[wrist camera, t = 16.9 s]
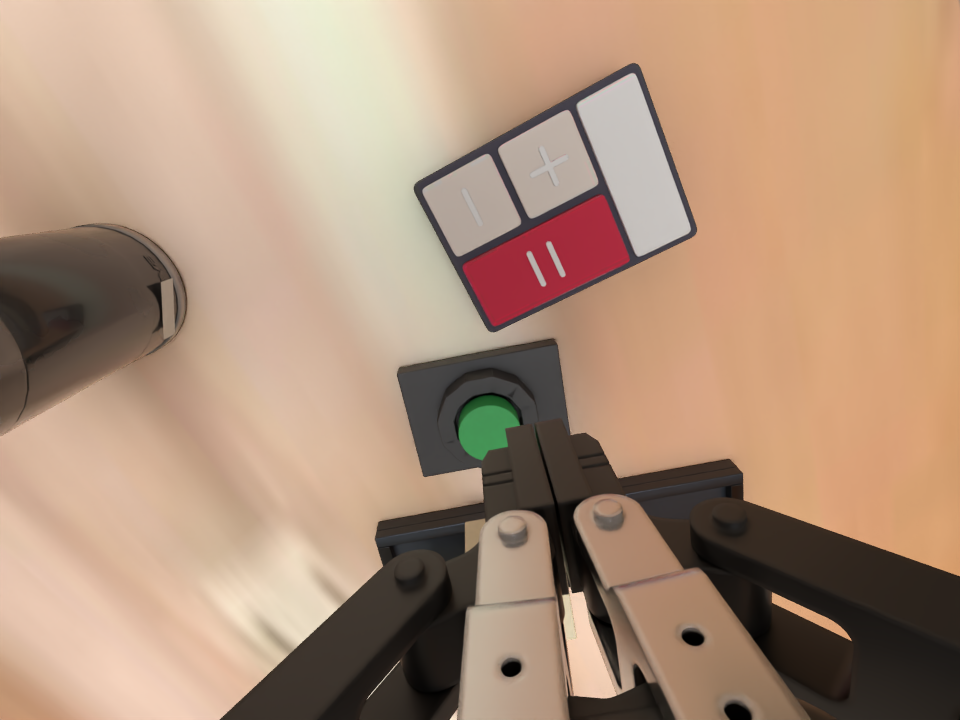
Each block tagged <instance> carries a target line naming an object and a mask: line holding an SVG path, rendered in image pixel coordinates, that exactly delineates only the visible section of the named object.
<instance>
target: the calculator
mask: <svg viewBox="0 0 960 720" xmlns="http://www.w3.org/2000/svg"><path fill="white" fill-rule="evenodd" d="M414 192H415V194H416V196H417V198H418V200H419V202H420V204H421V205H422V207H423V209H424V211H425V213H426V215H427V217H428V219H429V221H430V222H431V224H432V226H433V228H434V230H435V232H436V234H437V236H438V238H439V239H440V241H441V243H442V245H443V247H444V249H445V251H446V253H447V255H448V256H449V258H450V260H451V262H452V264H453V266H454V268H455V270H456V271H457V273H458V275H459V277H460V279H461V281H462V283H463V285H464V287H465V288H466V290H467V292H468V294H469V296H470V298H471V300H472V302H473V304H474V305H475V307H476V309H477V311H478V313H479V315H480V317H481V319H482V321H483V322H484V324H485V326H486V328H487V329H488V331H490V332H496V331H499V330H501V329H503V328H505V327H507V326H509V325H511V324H513V323H515V322H517V321H519V320H521V319H523V318H526V317H528V316H530V315H532V314H534V313H536V312H538V311H540V310H542V309H544V308H546V307H548V306H551V305H553V304H555V303H557V302H559V301H561V300H563V299H565V298H567V297H569V296H571V295H573V294H575V293H578V292H580V291H582V290H584V289H586V288H588V287H590V286H592V285H594V284H596V283H598V282H600V281H602V280H605V279H607V278H609V277H611V276H613V275H615V274H617V273H619V272H621V271H623V270H625V269H627V268H629V267H632V266H634V265H636V264H638V263H640V262H642V261H644V260H646V259H648V258H650V257H652V256H654V255H656V254H659V253H661V252H663V251H665V250H667V249H669V248H671V247H673V246H675V245H677V244H679V243H681V242H683V241H686V240H688V239H690V238H692V237H693V236H694V235H695V234H696V232H697V227H696V224H695V221H694V218H693V215H692V212H691V209H690V207H689V204H688V201H687V198H686V195H685V192H684V190H683V187H682V184H681V181H680V178H679V175H678V173H677V170H676V167H675V164H674V161H673V158H672V156H671V153H670V150H669V147H668V144H667V142H666V139H665V136H664V133H663V130H662V127H661V125H660V122H659V119H658V116H657V113H656V110H655V108H654V105H653V102H652V99H651V96H650V93H649V91H648V88H647V85H646V82H645V79H644V77H643V74H642V71H641V68H640V67H639V65H638V64H636V63H632V64H629V65H627V66H625V67H624V68H622V69H620V70H618V71H616V72H615V73H613V74H611V75H609V76H607V77H606V78H604V79H602V80H600V81H598V82H597V83H595V84H593V85H591V86H589V87H588V88H586V89H584V90H582V91H580V92H579V93H577V94H575V95H573V96H571V97H569V98H568V99H566V100H564V101H562V102H560V103H559V104H557V105H555V106H553V107H551V108H550V109H548V110H546V111H544V112H542V113H541V114H539V115H537V116H535V117H533V118H532V119H530V120H528V121H526V122H524V123H523V124H521V125H519V126H517V127H515V128H514V129H512V130H510V131H508V132H506V133H505V134H503V135H501V136H499V137H497V138H496V139H494V140H492V141H490V142H488V143H487V144H485V145H483V146H481V147H479V148H478V149H476V150H474V151H472V152H470V153H469V154H467V155H465V156H463V157H461V158H460V159H458V160H456V161H454V162H452V163H451V164H449V165H447V166H445V167H443V168H442V169H440V170H438V171H436V172H434V173H433V174H431V175H429V176H427V177H425V178H423V179H422V180H420V181H418V182H417V183H416V184H415V186H414Z"/></svg>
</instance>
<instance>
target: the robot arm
mask: <svg viewBox="0 0 960 720" xmlns="http://www.w3.org/2000/svg"><path fill="white" fill-rule="evenodd" d="M185 310H186V298H185V291H184V287H183V284H182V281H181V278H180V276H179V274H178V272H177V270H176V268H175V267H174V265H173V264H172V262H171V261H170V259H169V258H168V257H167V256H166V254H165V253H164V252H163V251H162V250H161V249H160V248H159V247H158V246H156V245H155V244H154V243H153V242H151V241H150V240H149V239H147V238H146V237H144V236H142V235H141V234H139V233H137V232H135V231H132V230H130V229H127V228H124V227H121V226H117V225H112V224H89V225H82V226H76V227H73V228H70V229H64V230H56V231H47V232H40V233H32V234H25V235H18V236H10V237H3V238H0V436H2V435H4V434H6V433H7V432H9V431H11V430H13V429H14V428H16V427H18V426H20V425H22V424H23V423H25V422H27V421H29V420H30V419H32V418H34V417H36V416H38V415H39V414H41V413H43V412H45V411H46V410H48V409H50V408H52V407H54V406H55V405H57V404H59V403H61V402H62V401H64V400H66V399H68V398H70V397H71V396H73V395H75V394H77V393H78V392H80V391H82V390H84V389H86V388H87V387H89V386H91V385H93V384H94V383H96V382H98V381H100V380H102V379H103V378H105V377H107V376H109V375H110V374H112V373H114V372H116V371H118V370H119V369H121V368H123V367H125V366H127V365H129V364H130V363H132V362H134V361H136V360H137V359H139V358H141V357H143V356H145V355H148V354H150V353H153V352H155V351H156V350H158V349H160V348H161V347H163V346H165V345H166V344H167V343H169V342H170V341H171V340H172V339H173V338H174V337H175V335H176V334H177V333H178V331H179V329H180V327H181V325H182V323H183V320H184V316H185ZM534 428H535V433H534V429H533V426H532V424H527V425H521V426H516V427H510V428H505V432H506V438H507V443H508V447H505V448H499V449H494V450H488V452H487V454H486V455H485V457H484V459H483V461H482V462H481V465H482V480H483V495H484V510H485V524H484V526H483V527H482V529H481V531H480V535H479V542H478V543H477V544H476V545H475V546H474V547H473V548H472V549H470V550H469V551H467V552H466V553H464V554H462V555H460V556H458V557H455V558H453V559H451V560H448V561H446V562H445V560H444V559H443V557H442V556H441V555H440V554H438V553H436V552H434V551H431V550H425V549H419V550H412V551H408V552H405V553H403V554H400V555H398V556H396V557H395V558H393V559H392V560H390V561H389V562H388V563H387V564H385V565H384V566H383V567H382V568H381V569H380V570H379V571H378V572H377V573H376V574H375V575H374V576H373V577H372V578H370V579H369V580H368V581H367V582H366V583H365V584H364V585H363V586H362V587H361V588H360V589H359V590H358V591H357V592H356V593H354V594H353V595H352V596H351V597H350V598H349V599H348V600H347V601H346V602H345V603H344V604H343V605H342V606H341V607H339V608H338V609H337V610H336V611H335V612H334V613H333V614H332V615H331V616H330V617H329V618H328V619H327V620H326V621H325V622H323V623H322V624H321V625H320V626H319V627H318V628H317V629H316V630H315V631H314V632H313V633H312V634H311V635H310V636H309V637H307V638H306V639H305V640H304V641H303V642H302V643H301V644H300V645H299V646H298V647H297V648H296V649H295V650H294V651H293V652H291V653H290V654H289V655H288V656H287V657H286V658H285V659H284V660H283V661H282V662H281V663H280V664H279V665H278V666H277V667H275V668H274V669H273V670H272V671H271V672H270V673H269V674H268V675H267V676H266V677H265V678H264V679H263V680H262V681H261V682H259V683H258V684H257V685H256V686H255V687H254V688H253V689H252V690H251V691H250V692H249V693H248V694H247V695H246V696H244V697H243V698H242V699H241V700H240V701H239V702H238V703H237V704H236V705H235V706H234V707H233V708H232V709H231V710H230V711H228V712H227V713H226V714H225V715H224V716H223V717H222V718H221V719H220V720H450V718H451V717H452V715H453V714H454V713H455V711H456V710H457V708H458V715H457V720H960V576H957V575H954V574H951V573H948V572H946V571H943V570H940V569H937V568H934V567H931V566H929V565H926V564H923V563H920V562H917V561H914V560H912V559H909V558H906V557H903V556H900V555H897V554H895V553H892V552H889V551H886V550H883V549H880V548H878V547H875V546H872V545H869V544H866V543H863V542H861V541H858V540H855V539H852V538H849V537H846V536H843V535H841V534H838V533H835V532H832V531H829V530H826V529H824V528H821V527H818V526H815V525H812V524H809V523H807V522H804V521H801V520H798V519H795V518H792V517H790V516H787V515H784V514H781V513H778V512H775V511H773V510H770V509H767V508H764V507H761V506H758V505H756V504H753V503H750V502H747V501H744V500H740V499H735V498H725V497H720V498H712V499H707V500H705V501H702V502H700V503H698V504H697V505H696V506H694V507H693V509H692V510H691V512H690V516H689V520H687V519H668V518H660V517H655V516H652V515H648V514H646V513H645V511H644V510H643V508H642V507H641V506H640V504H639V503H637V502H636V501H635V500H633V499H631V498H629V497H627V496H626V494H625V492H624V490H623V488H622V486H621V484H620V483H619V481H618V479H617V477H616V475H615V473H614V471H613V469H612V467H611V465H610V464H609V461H608V459H607V457H606V455H605V454H604V451H603V449H602V447H601V446H600V444H599V442H598V441H597V440H596V439H594V438H593V437H591V436H589V435H588V434H586V433H581V434H575V435H570V436H569V435H568V433H567V431H566V428H565V426H564V423H563V421H562V419H561V418H559V419H553V420H548V421H542V422H537V423H534ZM535 435H536V436H535ZM564 564H565V565H564ZM565 567H566V571H567V575H568V579H569V583H570V586H571V590H572V593H577V592H583V593H584V596H585V599H586V603H587V610H588V617H589V622H590V626H591V629H592V631H593V634H594V637H595V639H596V642H597V644H598V647H599V650H600V652H601V655H602V658H603V660H604V663H605V665H606V668H607V671H608V673H609V676H610V678H611V681H612V684H613V686H614V689H615V692H616V694H617V696H615V697H612V698H607V699H601V698H590V697H578V696H574V693H573V685H572V678H571V671H570V663H569V656H568V648H567V641H566V634H565V627H564V617H565V608H564V602H563V597H562V595H567V594H569V589H568V583H567V577H566V571H565ZM772 592H773V593H775V594H777V595H780V596H782V597H784V598H786V599H788V600H790V601H792V602H795V603H797V604H799V605H801V606H803V607H805V608H807V609H810V610H812V611H814V612H816V613H818V614H820V615H822V616H825V617H827V618H829V619H831V620H832V621H834V622H835V623H837V624H838V625H839V626H841V627H842V628H843V629H844V630H845V631H846V632H847V634H848V635H849V636H850V638H851V640H852V641H850V640H848V639H846V638H844V637H842V636H840V635H838V634H836V633H833V632H831V631H829V630H827V629H825V628H823V627H821V626H819V625H817V624H815V623H813V622H811V621H809V620H806V619H804V618H802V617H800V616H798V615H796V614H794V613H792V612H790V611H788V610H786V609H784V608H782V607H779V606H777V605H775V604H773V603H772ZM399 660H400V662H399V663H398V661H399ZM397 663H398V664H397ZM396 664H397V665H396ZM395 665H396V667H395V668H394V669H393V670H392V668H393V667H394V666H395ZM391 670H392V671H391ZM390 671H391V672H390ZM389 672H390V673H389ZM388 673H389V675H388V676H387V677H386V678H385V676H386V675H387V674H388ZM384 678H385V679H384ZM383 679H384V680H383ZM382 680H383V682H382V683H381V684H380V685H379V683H380V682H381V681H382ZM378 685H379V686H378ZM377 686H378V687H377ZM376 687H377V689H376V690H375V691H374V692H373V690H374V689H375V688H376ZM372 692H373V693H372ZM371 693H372V694H371ZM370 694H371V696H370V697H369V695H370ZM368 697H369V698H368ZM367 698H368V699H367Z"/></svg>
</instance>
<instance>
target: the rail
mask: <svg viewBox="0 0 960 720" xmlns="http://www.w3.org/2000/svg"><path fill="white" fill-rule="evenodd" d="M618 481H619V483H620V484H621V486H622V488H623V490H624V492H625V494H626V496H627V497H629V498H631V499H633V500H635V501H636V502H637V503H639V504H640V506H641V507H642V508H643V510H644V511H645V513H646V514H648V515H652V516H655V517H660V518H668V519H687V520H689V516H690V512H691V510H692V509H693V507H694V506H696V505H697V504H698V503H700V502H702V501H705V500H707V499H712V498H720V497H725V498H735V499H740V500H743V473H742V472H741V471H740V470H739V469H738V467H737V466H736V465H735V464H734V463H733V462H732V461H731V460H730V459H727V460H722V461H716V462H711V463H705V464H699V465H694V466H688V467H683V468H677V469H671V470H666V471H660V472H655V473H649V474H644V475H638V476H632V477H627V478H621V479H618ZM480 519H485V510H484V503H482V504H476V505H470V506H465V507H459V508H454V509H448V510H442V511H437V512H431V513H426V514H420V515H415V516H409V517H403V518H398V519H392V520H387V521H381V522H379V523H378V527H377V532H376V536H375V541H376V544H377V547H378V551H379V554H380V557H381V560H382V564H383V566H384V565H385V564H387V563H388V562H389V561H390V560H392V559H393V558H395V557H396V556H398V555H400V554H403V553H405V552H408V551H412V550H419V549H425V550H431V551H434V552H436V553H438V554H440V555H441V556H442V557H443V559H444V560H445V562H446V561H448V560H451V559H453V558H455V557H458V556H460V555H462V554H464V553H465V522H469V521H474V520H480ZM565 569H566V567H565ZM566 575H567V571H566ZM567 582H568V587H571V586H570V583H569V579H568V575H567Z"/></svg>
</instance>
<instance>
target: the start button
mask: <svg viewBox="0 0 960 720" xmlns="http://www.w3.org/2000/svg"><path fill="white" fill-rule="evenodd" d="M516 426H520V423H519V419H518V415H517V412H516V410H515V408H514V407H513V405H512V404H511V403H510V402H508V401H507V400H506V399H504V398H501V397H499V396H494V395H484V396H480V397H477V398H475V399H473V400H471V401H470V402H468V403H467V404H466V405H465V407H464V408H463V409H462V411H461V413H460V416H459V440H460V443H461V445H462V447H463V449H464V450H465V451H466V452H467V453H468V454H469V455H471V456H472V457H474V458H476V459H479V460H483V459H484V457H485V455H486V454H487V452H488V450H494V449H499V448H505V447H508V443H507V438H506V432H505V428H510V427H516Z"/></svg>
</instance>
